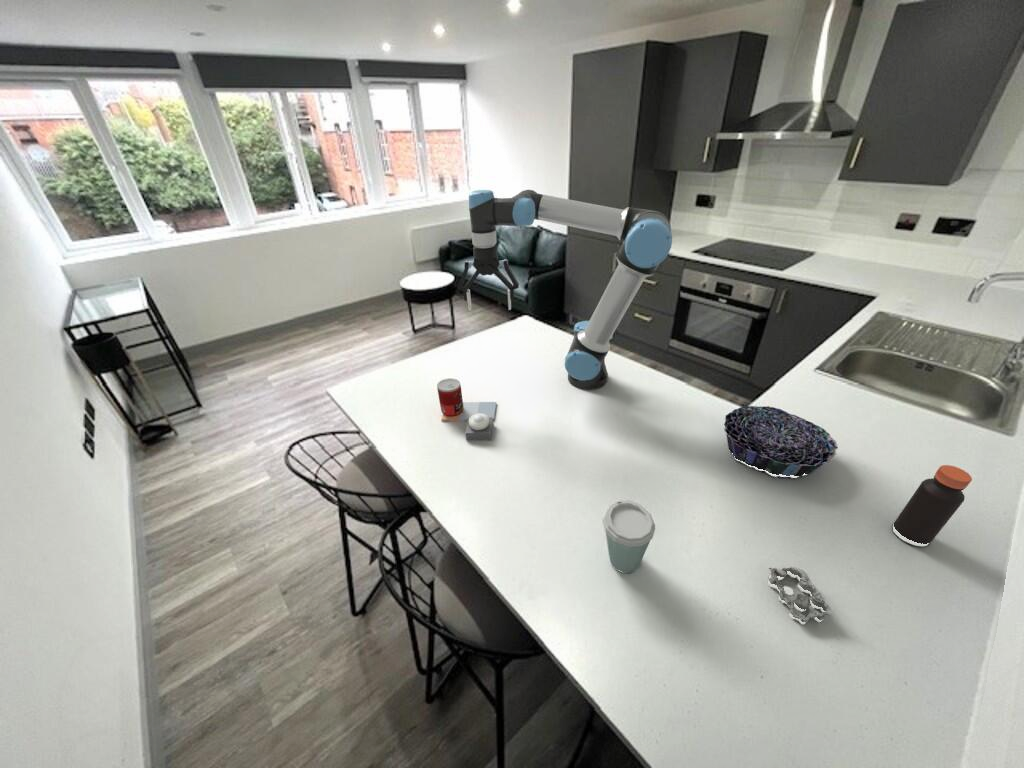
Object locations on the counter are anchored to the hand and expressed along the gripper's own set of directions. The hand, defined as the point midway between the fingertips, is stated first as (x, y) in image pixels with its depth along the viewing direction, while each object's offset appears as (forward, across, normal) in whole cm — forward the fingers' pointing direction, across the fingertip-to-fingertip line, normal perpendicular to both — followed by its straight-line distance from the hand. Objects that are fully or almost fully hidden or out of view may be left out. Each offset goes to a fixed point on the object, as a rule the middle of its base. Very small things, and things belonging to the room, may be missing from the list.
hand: (489, 309), depth 140 cm
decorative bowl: (+32, -83, +37) cm, 97 cm away
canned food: (+31, +14, +16) cm, 38 cm away
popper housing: (+32, +3, +27) cm, 42 cm away
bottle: (+32, -102, +65) cm, 125 cm away
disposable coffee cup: (+32, -35, +73) cm, 87 cm away
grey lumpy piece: (+32, -68, +81) cm, 111 cm away
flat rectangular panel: (+32, +8, +16) cm, 36 cm away
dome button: (+31, +3, +27) cm, 41 cm away
